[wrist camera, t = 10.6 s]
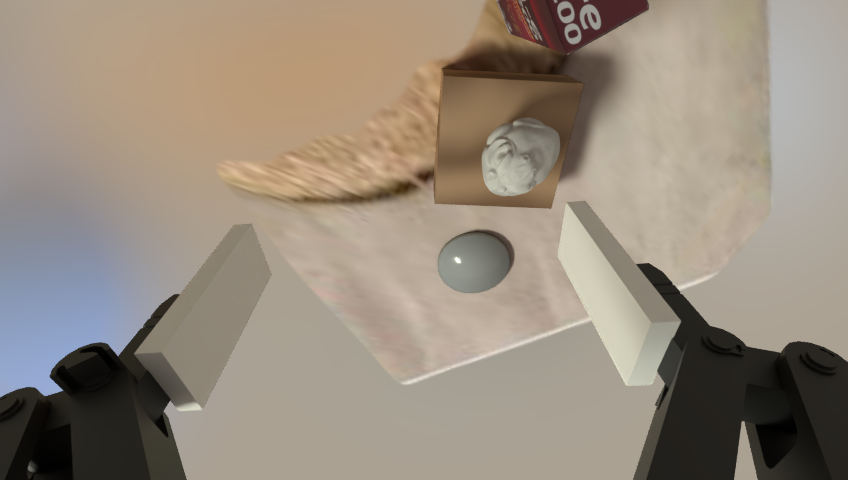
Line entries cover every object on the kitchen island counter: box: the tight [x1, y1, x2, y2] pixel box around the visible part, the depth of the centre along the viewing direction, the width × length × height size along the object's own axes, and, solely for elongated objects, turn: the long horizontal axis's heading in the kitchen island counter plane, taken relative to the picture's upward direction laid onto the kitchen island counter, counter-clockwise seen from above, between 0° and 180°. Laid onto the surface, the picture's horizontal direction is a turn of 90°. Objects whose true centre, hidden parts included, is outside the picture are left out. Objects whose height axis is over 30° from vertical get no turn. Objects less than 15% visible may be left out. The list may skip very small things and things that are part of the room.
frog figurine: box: [482, 118, 560, 196], centre depth 31 cm, size 6×7×7 cm
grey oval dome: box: [438, 232, 510, 293], centre depth 47 cm, size 9×9×1 cm
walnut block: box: [433, 69, 584, 208], centre depth 37 cm, size 12×12×5 cm
